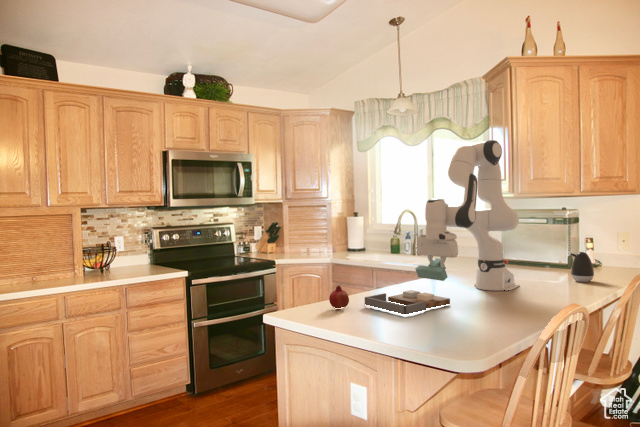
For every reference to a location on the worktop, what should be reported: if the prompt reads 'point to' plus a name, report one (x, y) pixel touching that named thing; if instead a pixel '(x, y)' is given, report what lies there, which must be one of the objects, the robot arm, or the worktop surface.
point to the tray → (393, 304)
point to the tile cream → (425, 296)
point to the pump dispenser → (582, 267)
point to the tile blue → (410, 293)
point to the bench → (407, 301)
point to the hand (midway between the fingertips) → (436, 266)
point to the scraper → (432, 271)
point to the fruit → (339, 298)
